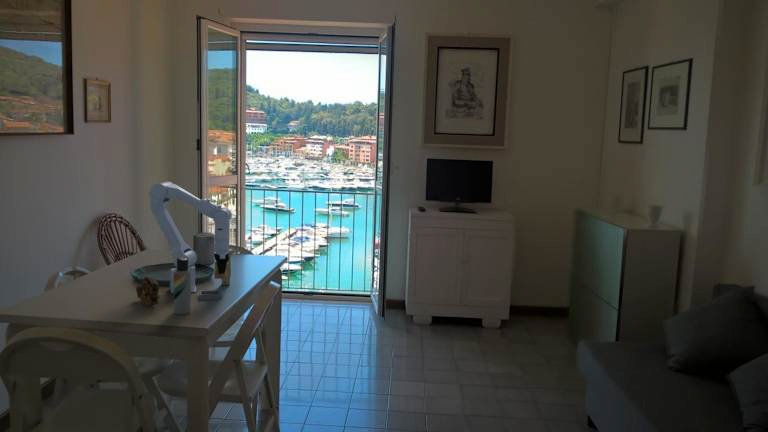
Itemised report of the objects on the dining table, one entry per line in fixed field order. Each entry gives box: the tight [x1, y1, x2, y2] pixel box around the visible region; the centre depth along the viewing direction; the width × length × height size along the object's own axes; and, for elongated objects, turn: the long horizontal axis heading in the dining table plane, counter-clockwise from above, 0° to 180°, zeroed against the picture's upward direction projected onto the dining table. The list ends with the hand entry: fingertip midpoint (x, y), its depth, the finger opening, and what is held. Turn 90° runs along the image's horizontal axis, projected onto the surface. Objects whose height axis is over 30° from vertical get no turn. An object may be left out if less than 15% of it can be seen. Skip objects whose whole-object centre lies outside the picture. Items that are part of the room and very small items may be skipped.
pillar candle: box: [192, 231, 215, 266], centre depth 290 cm, size 10×10×15 cm
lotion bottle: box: [173, 257, 192, 316], centre depth 215 cm, size 6×6×20 cm
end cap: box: [199, 289, 221, 301], centre depth 236 cm, size 8×6×2 cm
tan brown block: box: [213, 261, 228, 280], centre depth 242 cm, size 5×3×6 cm, turn 108°
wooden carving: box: [135, 276, 161, 306], centre depth 222 cm, size 16×5×10 cm, turn 47°
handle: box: [221, 247, 235, 286], centre depth 254 cm, size 5×6×15 cm
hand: (221, 272), depth 242 cm, fingers closed on tan brown block, 3 cm apart
